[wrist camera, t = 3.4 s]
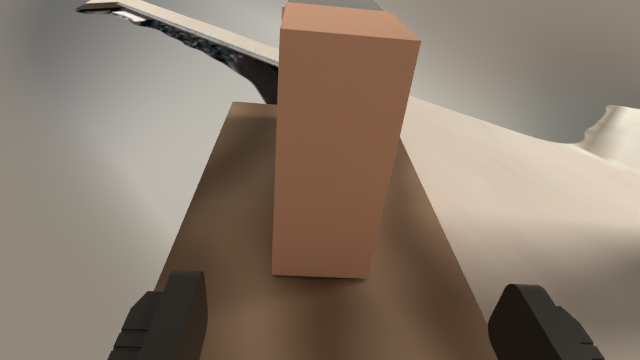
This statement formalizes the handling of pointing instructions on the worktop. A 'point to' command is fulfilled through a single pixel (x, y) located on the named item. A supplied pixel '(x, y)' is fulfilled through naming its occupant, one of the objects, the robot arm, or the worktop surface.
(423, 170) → the worktop surface
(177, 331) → the robot arm
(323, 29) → the terracotta stub
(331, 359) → the walnut board
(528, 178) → the worktop surface
